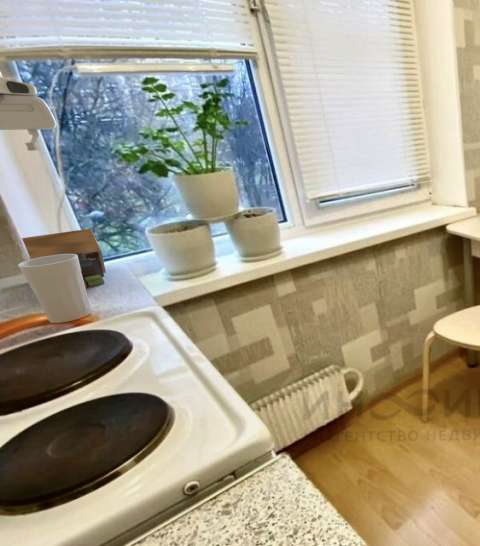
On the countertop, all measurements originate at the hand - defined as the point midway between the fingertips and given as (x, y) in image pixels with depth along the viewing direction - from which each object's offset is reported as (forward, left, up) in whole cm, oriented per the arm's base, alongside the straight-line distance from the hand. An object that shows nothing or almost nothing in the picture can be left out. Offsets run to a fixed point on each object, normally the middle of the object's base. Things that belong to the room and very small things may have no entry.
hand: (2, 151), depth 94 cm
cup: (-1, -33, -31) cm, 45 cm away
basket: (+3, -10, -21) cm, 24 cm away
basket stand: (+3, -1, -31) cm, 31 cm away
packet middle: (+3, -11, -30) cm, 32 cm away
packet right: (+6, -11, -30) cm, 32 cm away
